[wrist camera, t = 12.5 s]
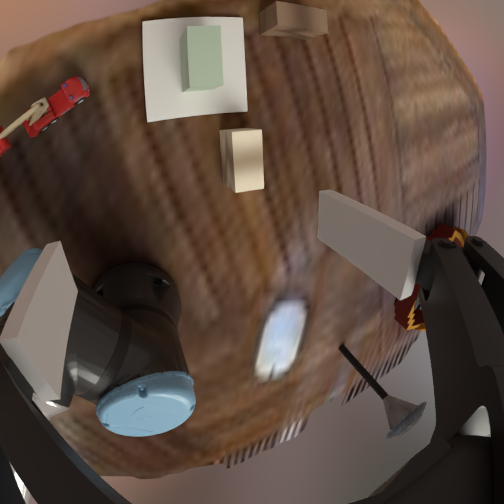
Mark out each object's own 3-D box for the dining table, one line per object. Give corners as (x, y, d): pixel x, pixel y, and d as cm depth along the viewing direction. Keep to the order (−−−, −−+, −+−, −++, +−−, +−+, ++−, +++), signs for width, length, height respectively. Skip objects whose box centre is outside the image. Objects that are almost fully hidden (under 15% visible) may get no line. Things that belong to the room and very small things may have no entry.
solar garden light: (322, 342, 68) (396, 431, 43) (361, 322, 71) (437, 398, 46) (322, 370, 74) (384, 450, 49) (357, 351, 77) (422, 421, 52)
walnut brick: (304, 19, 34) (326, 10, 29) (306, 39, 36) (328, 32, 31) (258, 13, 32) (276, 0, 27) (260, 34, 34) (277, 24, 29)
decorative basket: (428, 206, 67) (468, 225, 53) (470, 237, 76) (502, 256, 63) (373, 313, 77) (402, 345, 63) (424, 323, 87) (450, 348, 73)
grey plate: (245, 111, 39) (247, 111, 38) (147, 122, 34) (147, 122, 34) (240, 19, 32) (242, 17, 31) (142, 23, 27) (142, 21, 27)
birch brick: (248, 179, 44) (264, 188, 39) (223, 183, 42) (235, 192, 37) (245, 127, 40) (261, 129, 35) (219, 130, 39) (231, 131, 34)
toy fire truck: (94, 94, 30) (80, 86, 22) (18, 153, 28) (-12, 164, 20) (84, 75, 28) (68, 62, 20) (8, 135, 27) (-23, 142, 19)
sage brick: (211, 89, 35) (223, 85, 30) (182, 92, 33) (189, 87, 28) (208, 37, 31) (220, 25, 26) (179, 39, 30) (186, 26, 25)
